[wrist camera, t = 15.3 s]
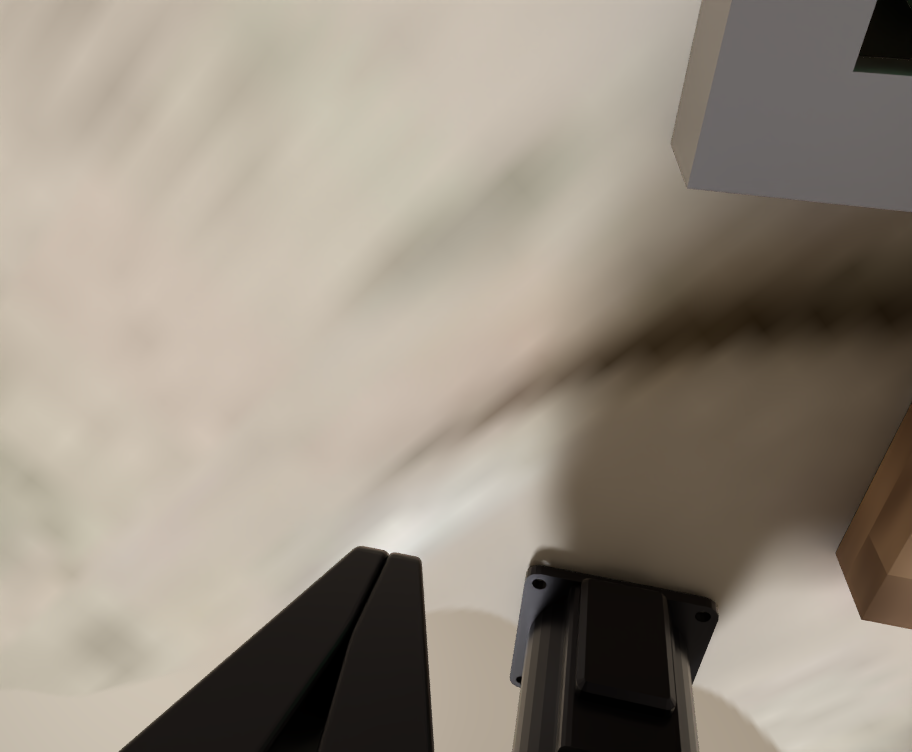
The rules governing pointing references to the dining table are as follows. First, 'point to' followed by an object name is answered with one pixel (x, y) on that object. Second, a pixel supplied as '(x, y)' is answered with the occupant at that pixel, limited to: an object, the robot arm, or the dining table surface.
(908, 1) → the button
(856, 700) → the dining table surface
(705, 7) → the button housing
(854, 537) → the brown wooden pocket tray
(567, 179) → the dining table surface
